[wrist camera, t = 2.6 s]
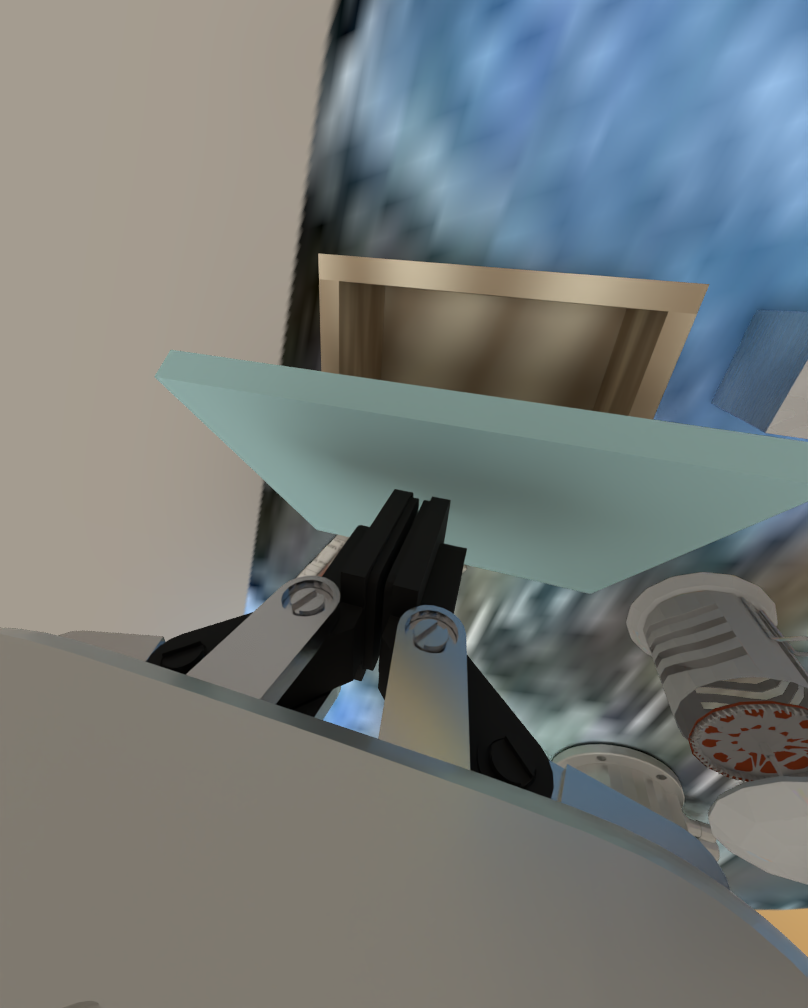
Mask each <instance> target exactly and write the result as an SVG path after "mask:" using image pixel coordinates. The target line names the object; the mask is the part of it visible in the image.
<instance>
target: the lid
mask: <svg viewBox="0 0 808 1008" xmlns="http://www.w3.org/2000/svg"><path fill="white" fill-rule="evenodd" d="M155 378H156V379H157V380H158V381H159V382H160V383H161V384H163V385H164V386H165V387H166V388H167V389H168V390H169V391H170V392H171V393H172V394H173V395H174V396H175V397H176V398H178V400H180V401H181V402H182V403H183V404H184V405H185V406H186V407H187V408H188V409H189V410H190V411H192V413H193V414H194V415H196V416H197V417H198V418H199V419H200V420H201V421H202V422H203V423H204V424H205V425H206V426H207V427H208V428H209V429H210V430H212V432H214V433H215V434H216V435H217V436H218V437H219V438H220V439H221V440H222V441H223V442H224V443H225V444H226V445H227V446H228V447H229V448H231V449H232V450H233V451H234V452H235V453H236V454H237V455H238V456H239V457H240V458H241V459H242V460H243V461H244V462H245V463H246V464H248V465H249V466H250V467H251V468H252V469H253V470H254V471H255V472H256V473H257V474H258V475H259V476H260V477H261V478H262V479H263V480H265V481H266V482H267V483H268V484H269V485H270V486H271V487H272V488H273V489H274V490H275V491H276V492H277V493H278V494H279V495H280V496H281V497H283V498H284V499H285V500H286V501H287V502H288V503H289V504H290V505H291V506H292V507H293V508H294V509H295V510H296V511H297V512H298V513H300V514H301V515H302V516H303V517H304V518H305V519H306V520H307V521H308V522H309V523H310V524H311V525H312V526H313V527H314V528H315V529H317V530H321V531H325V532H329V533H333V534H338V535H342V536H346V537H350V536H351V534H352V533H353V532H354V530H355V529H356V527H357V526H358V525H363V526H368V527H370V526H371V524H372V523H373V521H374V520H375V518H376V517H377V515H378V514H379V512H380V511H381V509H382V507H383V506H384V504H385V503H386V501H387V500H388V498H389V497H390V495H391V494H392V492H393V491H394V489H398V490H403V491H408V492H413V494H414V498H419V509H420V507H421V505H422V503H423V501H424V500H428V501H430V500H431V498H432V496H433V497H438V498H443V499H448V500H451V503H450V510H449V516H448V522H447V528H446V534H445V540H444V544H449V545H453V546H458V547H462V548H467V552H466V557H465V561H464V564H465V565H469V566H474V567H478V568H482V569H486V570H491V571H495V572H499V573H503V574H508V575H512V576H516V577H521V578H525V579H529V580H533V581H538V582H542V583H546V584H550V585H555V586H559V587H563V588H567V589H572V590H576V591H580V592H584V593H589V594H591V593H593V592H596V591H598V590H601V589H603V588H605V587H608V586H610V585H612V584H615V583H617V582H619V581H622V580H624V579H626V578H629V577H631V576H634V575H636V574H638V573H641V572H643V571H645V570H648V569H650V568H652V567H655V566H657V565H659V564H662V563H664V562H667V561H669V560H671V559H674V558H676V557H678V556H681V555H683V554H685V553H688V552H690V551H692V550H695V549H697V548H700V547H702V546H704V545H707V544H709V543H711V542H714V541H716V540H718V539H721V538H723V537H725V536H728V535H730V534H733V533H735V532H737V531H740V530H742V529H744V528H747V527H749V526H751V525H754V524H756V523H758V522H761V521H763V520H765V519H768V518H770V517H773V516H775V515H777V514H780V513H782V512H784V511H787V510H789V509H791V508H794V507H796V506H798V505H801V504H803V503H806V502H808V442H804V441H797V440H790V439H783V438H776V437H769V436H762V435H755V434H749V433H742V432H735V431H728V430H721V429H714V428H707V427H700V426H693V425H686V424H680V423H673V422H666V421H659V420H652V419H645V418H638V417H631V416H624V415H618V414H611V413H604V412H597V411H590V410H583V409H576V408H569V407H562V406H555V405H549V404H542V403H535V402H528V401H521V400H514V399H507V398H500V397H493V396H486V395H480V394H473V393H466V392H459V391H452V390H445V389H438V388H431V387H424V386H418V385H411V384H404V383H397V382H390V381H383V380H376V379H369V378H362V377H355V376H349V375H342V374H335V373H328V372H321V371H314V370H307V369H300V368H293V367H286V366H280V365H273V364H265V363H259V362H252V361H245V360H237V359H231V358H224V357H218V356H211V355H204V354H197V353H190V352H182V351H176V350H170V352H169V354H168V355H167V357H166V358H165V360H164V362H163V363H162V365H161V367H160V369H159V370H158V372H157V373H156V375H155ZM419 509H418V511H419Z"/></svg>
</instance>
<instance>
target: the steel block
mask: <svg viewBox="0 0 808 1008" xmlns="http://www.w3.org/2000/svg"><path fill="white" fill-rule="evenodd" d="M711 403H712V404H713V405H715V406H717V407H719V408H721V409H723V410H724V411H726V412H728V413H730V414H732V415H734V416H735V417H737V418H739V419H741V420H743V421H745V422H746V423H748V424H750V425H752V426H754V427H756V428H758V429H759V430H761V431H763V432H765V433H770V434H777V435H784V436H791V437H798V438H805V439H808V312H798V311H773V310H756V312H755V314H754V316H753V318H752V320H751V322H750V324H749V326H748V328H747V330H746V332H745V335H744V337H743V339H742V341H741V343H740V345H739V347H738V349H737V351H736V353H735V355H734V357H733V359H732V361H731V363H730V365H729V367H728V369H727V372H726V374H725V376H724V378H723V380H722V382H721V384H720V386H719V388H718V390H717V392H716V394H715V396H714V398H713V400H712V402H711Z"/></svg>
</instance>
